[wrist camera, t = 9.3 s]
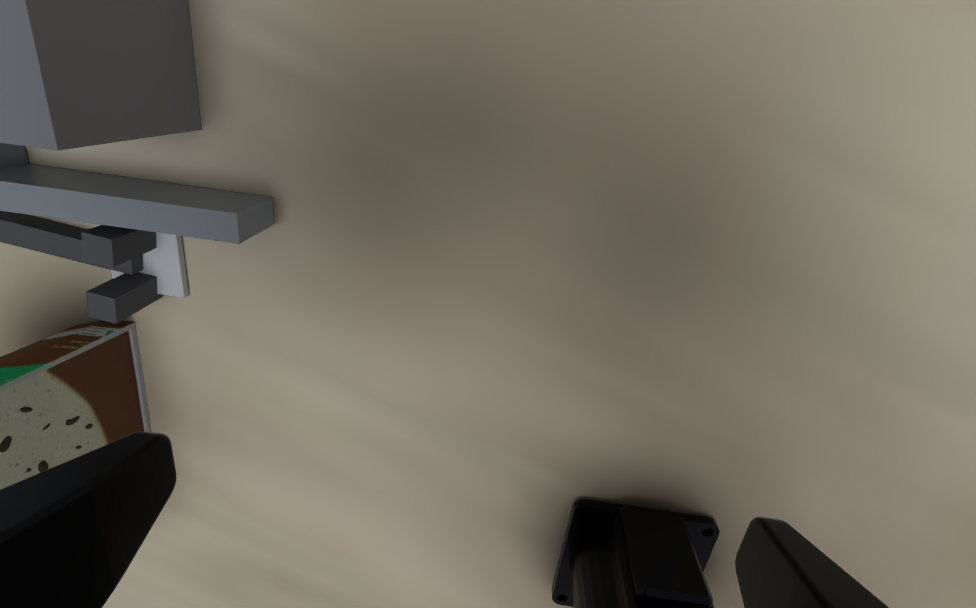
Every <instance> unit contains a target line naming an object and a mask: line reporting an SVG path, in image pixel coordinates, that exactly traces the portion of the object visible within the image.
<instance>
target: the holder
mask: <svg viewBox="0 0 976 608" xmlns="http://www.w3.org/2000/svg"><path fill="white" fill-rule="evenodd" d="M0 211H6V212H14V213H21V214H28V215H35V216H42V217H50V218H57V219H64V220H71V221H78V222H86V223H93V224H100V225H107V226H114V227H122V228H129V229H136V230H143V231H151V232H158V233H165V234H172V235H179V236H187V237H194V238H201V239H208V240H215V241H223V242H230V243H237V244H240V243H242V242H243V241H245V240H247V239H249V238H250V237H252V236H254V235H256V234H257V233H259V232H261V231H263V230H265V229H266V228H268V227H270V226H272V225H273V224H274V213H273V197H267V196H260V195H252V194H245V193H238V192H231V191H223V190H216V189H209V188H201V187H194V186H187V185H180V184H172V183H165V182H158V181H151V180H143V179H136V178H129V177H122V176H114V175H107V174H100V173H92V172H85V171H78V170H71V169H63V168H56V167H49V166H42V165H34V164H29V163H28V159H27V155H26V150H25V146H21V145H13V144H6V143H0Z"/></svg>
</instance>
